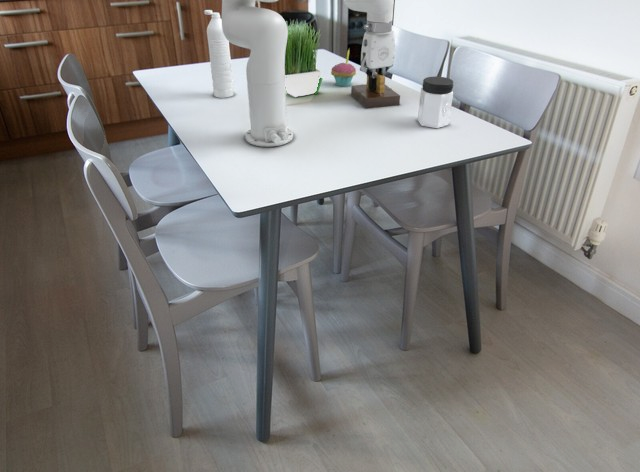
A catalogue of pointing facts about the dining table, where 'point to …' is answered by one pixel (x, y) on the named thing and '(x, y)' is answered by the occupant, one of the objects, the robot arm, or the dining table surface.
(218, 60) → the water bottle
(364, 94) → the plate
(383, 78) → the tap handle
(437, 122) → the jar
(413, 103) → the dining table surface
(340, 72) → the cupcake
